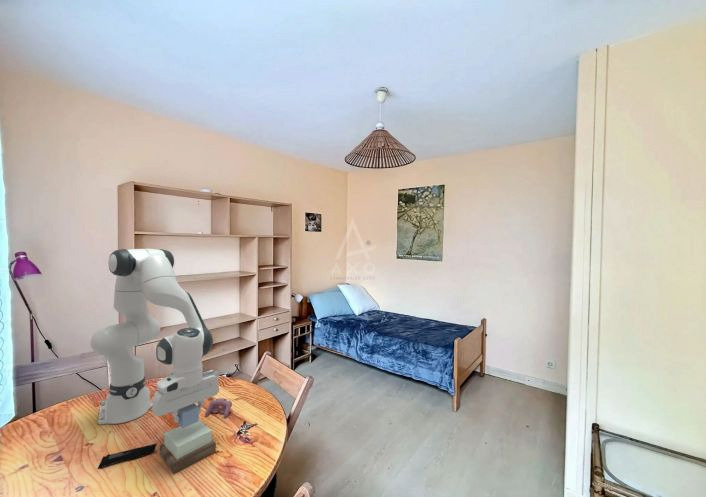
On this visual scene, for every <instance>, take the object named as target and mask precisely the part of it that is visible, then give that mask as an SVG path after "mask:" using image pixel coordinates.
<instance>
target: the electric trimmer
mask: <svg viewBox="0 0 706 497" xmlns="http://www.w3.org/2000/svg"><path fill="white" fill-rule="evenodd" d="M157 446H158V445H157V443H153V444H148V445H145V446H139V447H134V448H132V449H129V450H128V449H127V450H123V451H120V452H116V453H112V454H111V453H110V454H109V453H108V454H106V455H105V456H104V455H103V457H102V458H101V461H100V462H99V465H98V467H97V469H98V470H99V469H100V470H101V469H103V468H104V467H106V466H109V465H113V464H118V463H119V462H124V461H127V460H128V461H129V460H130V461H132V460H135V459H138V458H141V457H143V456H146V455H149V454H152V453H154V452H155V450H156V447H157Z"/></svg>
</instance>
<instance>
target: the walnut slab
mask: <svg viewBox="0 0 706 497" xmlns="http://www.w3.org/2000/svg"><path fill="white" fill-rule="evenodd" d="M216 444H217V442H216V441H215V440H214V439H213V438H212V442H211V443H209V444H207V445H205V446H203V447H201V448H199V449H197V450H195V451H193V452H191V453H189V454H187V455H185V456H183V457H181V458H179V459H176V458H175V457H174V456H173V454H172V453H171V452H170V451H169V450H168V449H167V448H166V446H165V445H164V442H162V443H161V444H159V456H160V457H161V459H162V461H163V462H164V463H165V465H166V466H167V467H168V469H169V470H170V472H171V473H172V474H173V475H176V474H177V473H179V472H181V471H183V470H185V469H188V468H189V467H190V466H193V465H194V464H197V463H198V462H201V461H202V460H204V459H206V458H208V457H210V456H211V455H213V454H215V453H216V452H217V451H216V450H217V448H216V447H217V445H216Z"/></svg>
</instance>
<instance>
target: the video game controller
mask: <svg viewBox="0 0 706 497" xmlns="http://www.w3.org/2000/svg"><path fill="white" fill-rule="evenodd" d="M232 406H233V403H232V400H229V399H227V398H223V397H222V398H221V397H220V398H219V397H218V398H214V399H212V400H211V401H210V402H209V404H208V406H207V408H206V410H205V413H204V416H205V417H208V416H210V414H211V413H212V412H213V413H214V414H217V413H218V414H219V413H220V414H223V417H224V418H227V417H228V416H229V414H230V412H231V408H232ZM220 407H221V408H220Z"/></svg>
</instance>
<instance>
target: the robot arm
mask: <svg viewBox="0 0 706 497" xmlns="http://www.w3.org/2000/svg"><path fill="white" fill-rule="evenodd" d="M107 262H108V264H107V265H108V269H109V271H110V273H111V274H112V275H114V276H116V279H115V284H114V294H113V295H114V296H113V298H114V299H113V307H114V308H113V309H114V310H115V311H116V312H117V313H119V314H122V315H124V316H125V321H124V322H120V323H117V324H113V325H108V326H106V327H103V328H101V329H99V330H97V331H95V332H94V333H93V335H92V336H91V339H90V348H91V349H92V351H93V352H94V353H95V354H97V355H99V356H102V357H104V358H105V359H106V360H107V363H108V364H109V367H110V368H109V369H110V384H109V387H108V393H107V395H106V398H105V399H104V400H101V401H100V407H99V411H98V419H97V420H98V421H97V425H106V424H108V425H109V424H111V425H117V424H123V423H126V422H130V421H134V420H136V419H138V418H139V417H142V416H144V415H145V414H146V413H147V412H148V410H150V409H152V410H151V411H152V414H153V415H154V416H155V417H157V418H160V417H162V416H165V415H168V414H170V413H171V415H172V416H173V421H174V423H175V424H176V423H177V422H179V421H181V416H180V415H179V414H178V415H177V410H178V409H181V408H184V407H186V406H189V405H191V404H196V403H197V406H198V407H199V414H201V413H202V408H203V405H205V400H207V399H209V398H212V397H214V396H217V395H218V394H219V392H220V385H219V371H218V370H217V369H213V368H212V369H210V370H206V371H204V370H203V367H204V366H203V362H202V358H203V356H206V355H207V354H208V353H209V352H210V350H211V348H212V346H213V344H214V338H213V335H212V333H211V331H210V330H209V329H208V328H207V327H208V326H206V324H205V322H204V319H203V317H202V316H201V313H200V311H199V309H198V306H197V305H196V303H195V300H194V299H193V297H192V296H191V294H190V293H189V292H188V291H185V290H184V289H183V288H182V287H181V286H180V285H179V282H178V280H177V277H176V273H175V271H174V266H175V257H174V255H173V254H172V252H171V251H169V250H167V249H156V248H132V249H131V248H130V249H126V248H121V249H116V250H113V252H111V254H110V255H109V257H108V261H107ZM148 302H150V303H151V304H153V305H156V306H159V307H163V308H164V307H165V308H169V309H174V310H178V311H179V312H180V313H181V314H182V315H183V317H184V320H185V322H186V324H187V326H188V327H185V328H183V327H182V328H180V329H179V330H177V331H175V333H174V334H171V335H168V336H165V337H164V338H163V337H162V339H159V342H158V344H157V345H156V350H155V351H156V352H155V356H156V359H157V361H159V362H160V363H161V364H164V365H168V366H169V365H170V366H171V365H172V366H173V371H172V373H170V374H168V375H167V376H166V377H164V378H162V379H160V380H159V381H157V382H156V384H155V385H156V386H155V387H156V389H157V390H156V391H155V392H154V395H153V399H152V401H151V399H150V388H149V387H147V386H146V376H145V359H144V358H143V357H141V356H140V355H136V354H134V353H133V348H134V347H137V346H141V345H143V344H147V343H148V342H151V341H152V340H154V339H156V338H157V337H158V336H159V335H160V333H161V323H160V322H159V321H158V320H157V319H156V318H154V317H153V316H152V315H151V313H150V311H149V308H148ZM177 424H178V423H177Z"/></svg>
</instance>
